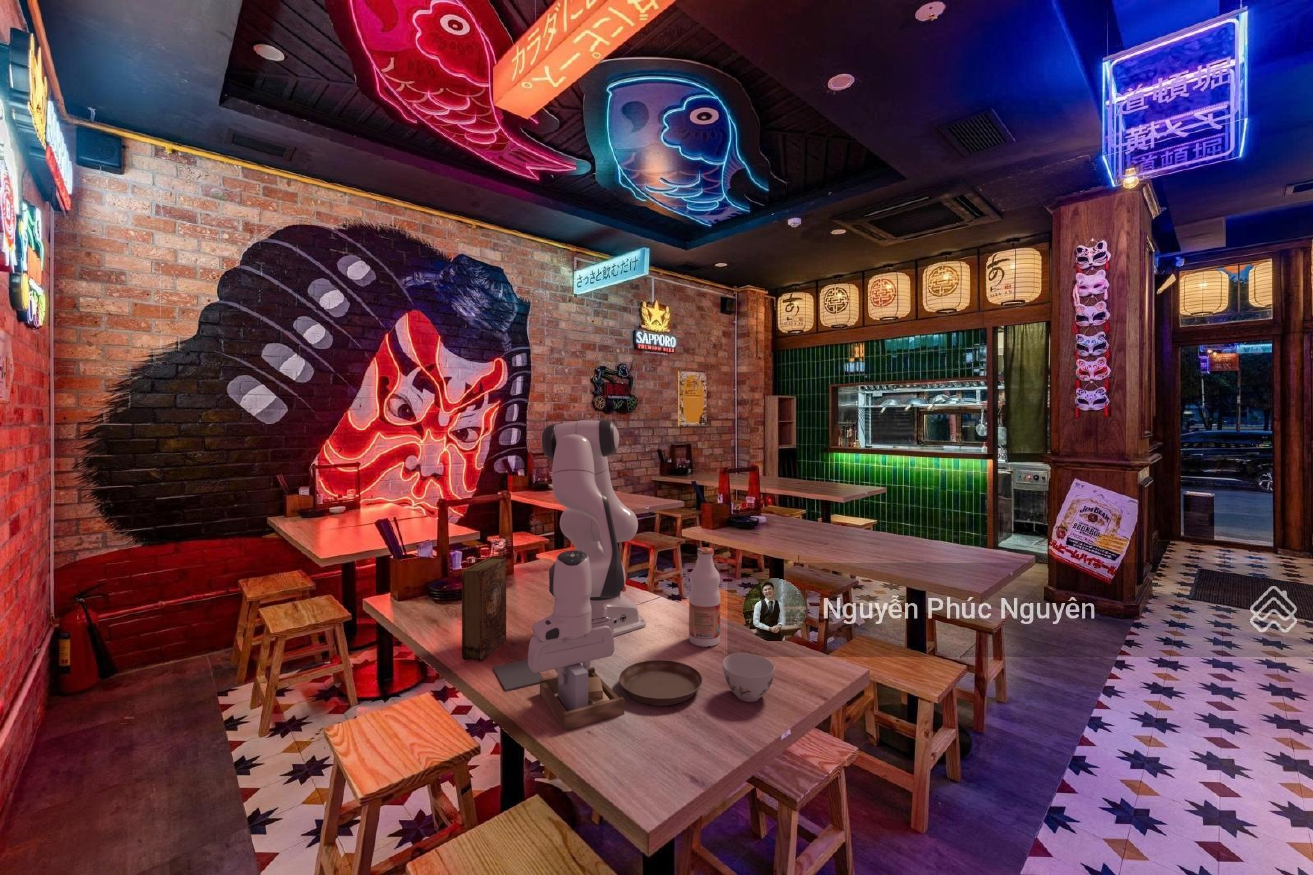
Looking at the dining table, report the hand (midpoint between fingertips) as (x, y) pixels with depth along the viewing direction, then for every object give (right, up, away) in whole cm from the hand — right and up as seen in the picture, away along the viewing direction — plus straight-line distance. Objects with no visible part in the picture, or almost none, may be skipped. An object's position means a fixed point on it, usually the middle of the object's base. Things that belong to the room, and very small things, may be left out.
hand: (572, 681), depth 125 cm
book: (-30, -5, +31) cm, 43 cm away
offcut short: (+5, -4, +2) cm, 6 cm away
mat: (-16, -5, +15) cm, 23 cm away
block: (0, -6, 0) cm, 6 cm away
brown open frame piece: (+2, -6, +1) cm, 6 cm away
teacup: (+43, -6, +6) cm, 43 cm away
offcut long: (+5, -6, +3) cm, 8 cm away
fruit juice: (+34, -5, +38) cm, 51 cm away
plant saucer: (+21, -6, +8) cm, 23 cm away
